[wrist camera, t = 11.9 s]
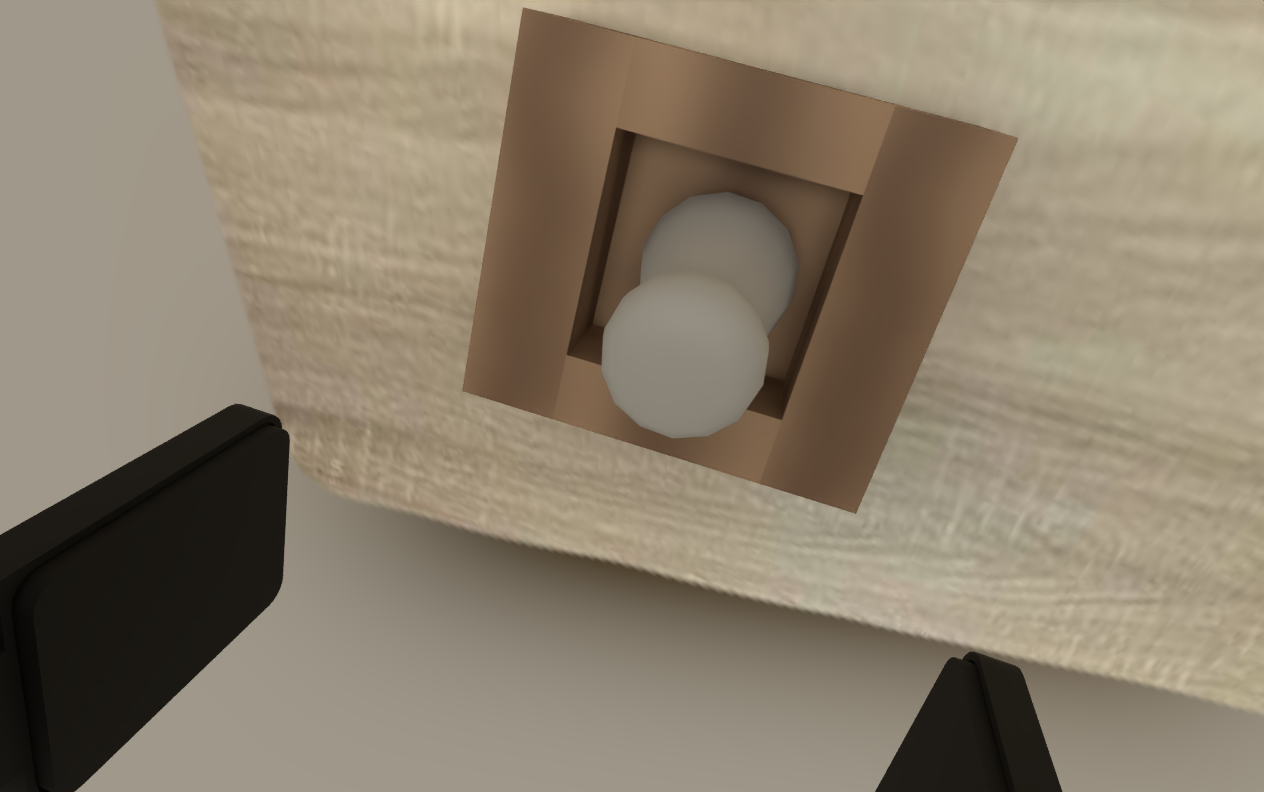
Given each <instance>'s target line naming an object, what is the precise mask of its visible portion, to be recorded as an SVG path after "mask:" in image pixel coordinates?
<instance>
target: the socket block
mask: <svg viewBox="0 0 1264 792" xmlns="http://www.w3.org/2000/svg"><path fill="white" fill-rule="evenodd" d="M1017 140H1018V138H1016V137H1013V136H1010V135H1006V134H1003V133H1000V132H996V131H993V130H990V129H986V128H983V127H979V126H975V125H972V124H968V123H964V122H960V121H957V120H953V119H949V118H945V117H941V116H938V115H934V114H930V113H926V112H922V111H919V110H915V109H911V108H907V107H903V106H900V105H896V104H892V103H888V102H884V101H881V100H877V99H873V98H869V97H866V96H862V95H858V94H854V93H850V92H847V91H843V90H839V89H835V88H831V87H828V86H824V85H820V84H816V83H812V82H809V81H805V80H801V79H797V78H793V77H790V76H786V75H782V74H778V73H775V72H771V71H767V70H763V69H759V68H756V67H752V66H748V65H744V64H740V63H737V62H733V61H729V60H725V59H721V58H718V57H714V56H710V55H706V54H702V53H699V52H695V51H691V50H687V49H684V48H680V47H676V46H672V45H668V44H665V43H661V42H657V41H653V40H649V39H646V38H642V37H638V36H634V35H630V34H627V33H623V32H619V31H615V30H611V29H608V28H604V27H600V26H596V25H593V24H589V23H585V22H581V21H577V20H574V19H570V18H566V17H562V16H558V15H553V14H549V13H545V12H541V11H536V10H532V9H528V8H523V10H522V17H521V23H520V29H519V36H518V42H517V48H516V55H515V61H514V67H513V74H512V80H511V86H510V93H509V99H508V105H507V112H506V118H505V124H504V131H503V137H502V143H501V150H500V156H499V162H498V169H497V175H496V181H495V188H494V194H493V200H492V207H491V213H490V219H489V226H488V232H487V238H486V245H485V251H484V257H483V264H482V270H481V276H480V283H479V289H478V296H477V302H476V308H475V315H474V321H473V327H472V334H471V340H470V346H469V353H468V359H467V365H466V372H465V378H464V384H463V391H464V392H468V393H471V394H474V395H477V396H480V397H484V398H487V399H490V400H493V401H496V402H500V403H503V404H506V405H509V406H512V407H516V408H519V409H522V410H525V411H528V412H532V413H535V414H538V415H541V416H544V417H548V418H551V419H554V420H557V421H560V422H564V423H567V424H570V425H573V426H577V427H580V428H583V429H586V430H589V431H593V432H596V433H599V434H602V435H605V436H609V437H612V438H615V439H618V440H621V441H625V442H628V443H631V444H634V445H637V446H641V447H644V448H647V449H650V450H653V451H657V452H660V453H663V454H666V455H669V456H673V457H676V458H679V459H682V460H686V461H689V462H692V463H695V464H698V465H702V466H705V467H708V468H711V469H714V470H718V471H721V472H724V473H727V474H730V475H734V476H737V477H740V478H743V479H746V480H750V481H753V482H756V483H759V484H762V485H766V486H769V487H772V488H775V489H778V490H782V491H785V492H788V493H791V494H795V495H798V496H801V497H804V498H807V499H811V500H814V501H817V502H820V503H823V504H827V505H830V506H833V507H836V508H839V509H843V510H846V511H849V512H852V513H855V514H856V512H857V510H858V508H859V505H860V503H861V501H862V498H863V496H864V494H865V492H866V489H867V487H868V485H869V482H870V480H871V478H872V475H873V473H874V471H875V468H876V466H877V464H878V462H879V459H880V457H881V455H882V452H883V450H884V448H885V445H886V443H887V441H888V438H889V436H890V434H891V431H892V429H893V427H894V425H895V422H896V420H897V418H898V415H899V413H900V411H901V408H902V406H903V404H904V401H905V399H906V397H907V394H908V392H909V390H910V388H911V385H912V383H913V381H914V378H915V376H916V374H917V371H918V369H919V367H920V364H921V362H922V360H923V358H924V355H925V353H926V351H927V348H928V346H929V344H930V341H931V339H932V337H933V334H934V332H935V330H936V327H937V325H938V323H939V321H940V318H941V316H942V314H943V311H944V309H945V307H946V304H947V302H948V300H949V297H950V295H951V293H952V291H953V288H954V286H955V284H956V281H957V279H958V277H959V274H960V272H961V270H962V267H963V265H964V263H965V260H966V258H967V256H968V254H969V251H970V249H971V247H972V244H973V242H974V240H975V237H976V235H977V233H978V230H979V228H980V226H981V223H982V221H983V219H984V217H985V214H986V212H987V210H988V207H989V205H990V203H991V200H992V198H993V196H994V193H995V191H996V189H997V187H998V184H999V182H1000V180H1001V177H1002V175H1003V173H1004V170H1005V168H1006V166H1007V163H1008V161H1009V159H1010V156H1011V154H1012V152H1013V150H1014V147H1015V145H1016V143H1017ZM722 192H731V193H734V194H737V195H740V196H743V197H745V198H748V199H751V200H754V201H757V202H760V203H762V204H763V205H764V206H765V207H766V208H767V209H768V210H769V211H770V212H771V213H772V214H773V215H774V216H775V217H776V218H777V219H778V220H779V221H780V222H781V223H782V224H783V225H784V226H785V227H786V228H787V229H788V231H789V234H790V238H791V241H792V244H793V247H794V250H795V253H796V256H797V259H798V262H799V270H798V276H797V282H796V288H795V294H794V299H793V301H792V302H791V304H790V305H789V307H788V308H787V310H786V311H785V312H784V314H783V315H782V317H781V318H780V320H779V321H778V323H777V324H776V326H775V327H774V329H773V330H772V331H771V332H770V333H769V334H768V336H767V338H768V341H769V353H768V359H767V365H766V371H765V377H764V384H763V386H762V387H761V389H760V390H759V392H758V393H757V395H756V396H755V398H754V399H753V400H752V402H751V403H750V405H749V406H748V407H747V409H746V410H745V412H744V413H743V415H742V416H741V417H740V419H739V420H738V421H736V422H734V423H733V424H731V425H729V426H727V427H725V428H723V429H721V430H719V431H717V432H715V433H713V434H711V435H709V436H703V437H688V438H670V437H667V436H665V435H662V434H660V433H657V432H654V431H652V430H649V429H646V428H644V427H641V426H639V425H638V424H637V423H636V422H635V421H634V420H633V419H632V418H631V417H629V416H628V415H627V414H626V413H625V412H624V411H623V410H622V409H621V408H620V407H619V406H617V405H616V404H615V403H614V401H613V398H612V396H611V393H610V391H609V388H608V386H607V383H606V381H605V379H604V376H603V374H602V371H601V369H602V347H603V334H604V329H605V327H606V325H607V323H608V322H609V320H610V318H611V317H612V315H613V313H614V312H615V310H616V308H617V307H618V305H619V303H620V302H621V300H622V298H623V297H624V296H625V295H626V294H628V293H629V292H630V291H632V290H633V289H635V288H636V287H638V286H639V285H640V277H641V264H642V251H643V246H644V244H645V242H646V241H647V239H648V237H649V236H650V234H651V232H652V231H653V229H654V227H655V226H656V224H657V222H658V221H659V219H660V217H661V216H662V215H664V214H665V213H667V212H668V211H670V210H671V209H673V208H674V207H676V206H677V205H679V204H680V203H682V202H683V201H685V200H686V199H688V198H689V197H690V196H698V195H706V194H714V193H722Z"/></svg>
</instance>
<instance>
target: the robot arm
mask: <svg viewBox="0 0 1264 792" xmlns="http://www.w3.org/2000/svg"><path fill="white" fill-rule="evenodd" d="M289 445H290V439H289V434H288V432H287V431H286V430H284V429H282V424H281V422H280V419H279V418H278V417H276V416H275V415H272V414H269V413H266V412H263V411H260V410H257V409H254V408H251V407H248V406H245V405H242V404H234V405H231V406H229V407H227V408H225V409H223V410H222V411H220V412H218V413H217V414H215V415H213V416H211V417H209V418H207V419H206V420H204V421H202V422H200V423H199V424H197V425H195V426H193V427H191V428H190V429H188V430H186V431H184V432H183V433H181V434H179V435H178V436H175V437H174V438H172V439H170V440H168V441H167V442H165V443H163V444H161V445H159V446H158V447H156V448H154V449H152V450H151V451H149V452H147V453H145V454H143V455H142V456H140V457H138V458H136V459H134V460H133V461H131V462H129V463H127V464H126V465H124V466H122V467H120V468H118V469H117V470H115V471H113V472H111V473H110V474H108V475H106V476H104V477H102V478H101V479H99V480H97V481H95V482H94V483H92V484H90V485H88V486H86V487H85V488H83V489H81V490H79V491H78V492H76V493H74V494H72V495H70V496H69V497H67V498H65V499H63V500H61V501H60V502H58V503H56V504H54V505H53V506H51V507H49V508H47V509H45V510H44V511H42V512H40V513H38V514H37V515H35V516H33V517H31V518H29V519H28V520H26V521H24V522H22V523H21V524H19V525H17V526H15V527H13V528H12V529H10V530H8V531H6V532H5V533H3V534H1V535H0V792H74V791H76V790H77V789H78V788H79V787H81V786H82V785H83V784H84V783H85V782H86V781H87V780H88V779H89V778H90V777H91V776H92V775H93V774H94V773H96V772H97V771H98V770H99V769H100V768H101V767H102V766H103V765H104V764H105V763H106V762H107V761H108V760H109V759H110V758H111V757H112V756H113V755H114V754H115V753H116V752H117V751H118V750H119V749H120V748H121V747H122V746H124V745H125V743H127V742H128V741H129V740H130V739H131V738H132V737H133V736H134V735H135V734H136V733H137V732H138V731H139V730H140V729H141V728H142V727H143V726H144V725H145V724H146V723H147V722H148V721H150V720H151V719H152V717H154V716H155V715H156V714H157V713H158V712H159V711H160V710H161V709H162V708H163V707H164V706H165V705H166V704H167V703H168V702H169V701H170V700H171V699H172V698H173V697H174V696H176V695H177V693H179V692H180V691H181V689H183V688H184V687H185V686H186V685H187V684H188V683H189V682H190V681H191V680H192V679H193V678H194V677H195V676H196V675H197V674H198V673H199V672H200V671H201V670H202V669H204V668H205V667H206V665H208V664H209V663H210V662H211V661H212V660H213V659H214V658H215V657H216V656H217V655H218V654H219V653H220V652H221V651H222V650H223V649H224V648H225V647H226V646H227V645H228V644H230V643H231V642H232V641H233V640H234V639H235V638H236V637H237V636H238V635H239V634H240V633H241V632H242V631H243V630H244V629H245V628H246V627H247V626H248V625H249V624H250V623H251V622H252V621H253V620H254V619H256V618H257V616H259V615H260V614H261V613H262V612H263V611H264V610H265V609H266V608H267V607H268V606H269V605H270V604H271V603H272V602H273V600H274V599H275V597H276V596H277V594H278V592H279V590H280V587H281V584H282V580H283V565H284V564H283V563H284V545H285V525H286V505H287V485H288V465H289ZM875 792H1062V789H1061V786H1060V784H1059V780H1058V777H1057V774H1056V772H1055V769H1054V766H1053V763H1052V760H1051V757H1050V754H1049V751H1048V748H1047V745H1046V742H1045V739H1044V736H1043V733H1042V730H1041V727H1040V724H1039V721H1038V718H1037V715H1036V712H1035V709H1034V706H1033V703H1032V700H1031V697H1030V694H1029V691H1028V688H1027V685H1026V682H1025V679H1024V676H1023V674H1022V672H1021V670H1020V668H1018V667H1016V666H1015V665H1012V664H1009V663H1006V662H1003V661H1000V660H997V659H994V658H991V657H988V656H985V655H982V654H979V653H977V652H969V653H968V654H966V655H965V656H964V658H963V659H962V660H961V659H958V658H955V657H952V658H950V659H949V660H948V661H947V663H946V664H945V666H944V668H943V669H942V671H941V673H940V675H939V677H938V679H937V680H936V682H935V684H934V686H933V688H932V689H931V691H930V693H929V695H928V697H927V699H926V700H925V702H924V704H923V706H922V708H921V709H920V711H919V713H918V715H917V717H916V718H915V720H914V722H913V724H912V726H911V728H910V729H909V731H908V733H907V735H906V737H905V738H904V740H903V742H902V744H901V746H900V748H899V749H898V751H897V753H896V755H895V757H894V758H893V760H892V762H891V764H890V766H889V767H888V769H887V771H886V773H885V775H884V777H883V779H882V780H881V782H880V784H879V786H878V787H877V789H876V791H875Z"/></svg>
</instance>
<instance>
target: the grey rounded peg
mask: <svg viewBox="0 0 1264 792" xmlns="http://www.w3.org/2000/svg"><path fill="white" fill-rule="evenodd" d="M798 270H799V262H798V259H797V256H796V253H795V250H794V247H793V244H792V241H791V238H790V234H789V231H788V229H787V228H786V227H785V226H784V225H783V224H782V223H781V222H780V221H779V220H778V219H777V218H776V217H775V216H774V215H773V214H772V213H771V212H770V211H769V210H768V209H767V208H766V207H765V206H764V205H763V204H762V203H760V202H757V201H754V200H751V199H748V198H745V197H743V196H740V195H737V194H734V193H731V192H722V193H714V194H706V195H698V196H690V197H689V198H688V199H686V200H685V201H683V202H682V203H680V204H679V205H677V206H676V207H674V208H673V209H671V210H670V211H668V212H667V213H665V214H664V215H662V216H661V217H660V219H659V221H658V222H657V224H656V226H655V227H654V229H653V231H652V232H651V234H650V236H649V237H648V239H647V241H646V242H645V244H644V246H643V251H642V264H641V277H640V285H639V286H638V287H636V288H635V289H633V290H632V291H630V292H629V293H628V294H626V295H625V296H624V297H623V298H622V300H621V302H620V303H619V305H618V307H617V308H616V310H615V312H614V313H613V315H612V317H611V318H610V320H609V322H608V323H607V325H606V327H605V329H604V334H603V347H602V369H601V371H602V374H603V376H604V379H605V381H606V383H607V386H608V388H609V391H610V393H611V396H612V398H613V401H614V403H615V404H616V405H617V406H619V407H620V408H621V409H622V410H623V411H624V412H625V413H626V414H627V415H628V416H629V417H631V418H632V419H633V420H634V421H635V422H636V423H637V424H638V425H639V426H641V427H644V428H646V429H649V430H652V431H654V432H657V433H660V434H662V435H665V436H667V437H670V438H688V437H703V436H709V435H711V434H713V433H715V432H717V431H719V430H721V429H723V428H725V427H727V426H729V425H731V424H733V423H734V422H736V421H738V420H739V419H740V417H741V416H742V415H743V413H744V412H745V410H746V409H747V407H748V406H749V405H750V403H751V402H752V400H753V399H754V398H755V396H756V395H757V393H758V392H759V390H760V389H761V387H762V386H763V384H764V377H765V371H766V365H767V359H768V353H769V341H768V338H767V336H768V334H769V333H770V332H771V331H772V330H773V329H774V327H775V326H776V324H777V323H778V321H779V320H780V318H781V317H782V315H783V314H784V312H785V311H786V310H787V308H788V307H789V305H790V304H791V302H792V301H793V299H794V294H795V288H796V282H797V276H798Z"/></svg>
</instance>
